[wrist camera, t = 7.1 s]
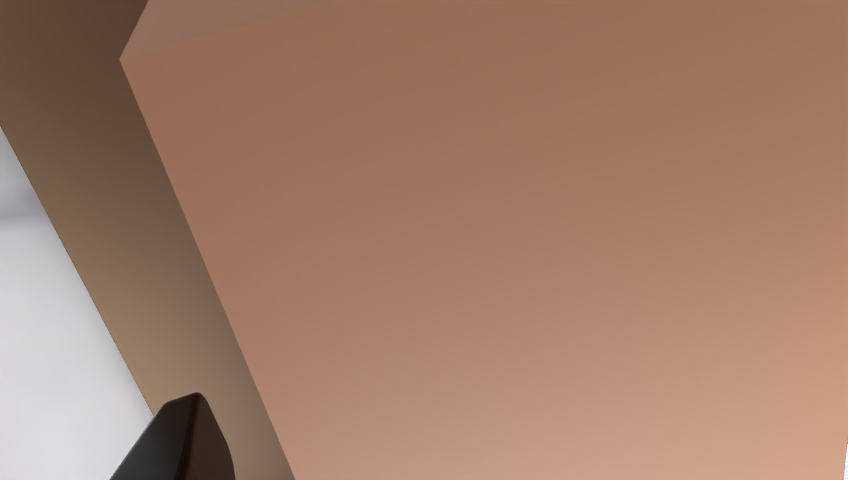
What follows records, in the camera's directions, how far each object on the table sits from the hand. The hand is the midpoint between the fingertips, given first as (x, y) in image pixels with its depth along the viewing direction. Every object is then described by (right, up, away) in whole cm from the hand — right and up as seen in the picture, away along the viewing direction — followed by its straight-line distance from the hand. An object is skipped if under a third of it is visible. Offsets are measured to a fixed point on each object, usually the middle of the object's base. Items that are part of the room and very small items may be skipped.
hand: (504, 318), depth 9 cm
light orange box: (-1, +1, +2) cm, 3 cm away
